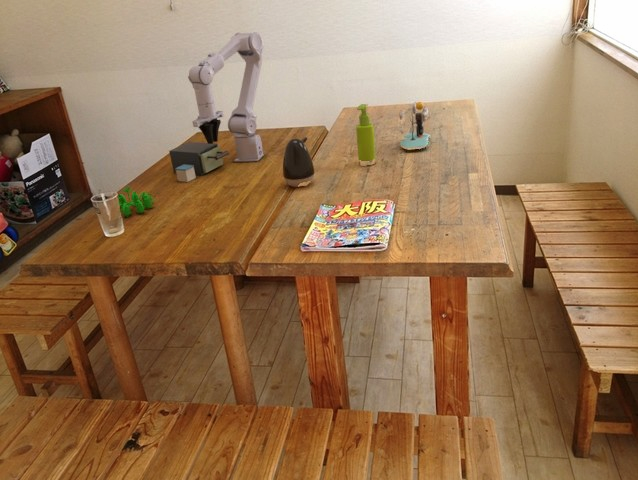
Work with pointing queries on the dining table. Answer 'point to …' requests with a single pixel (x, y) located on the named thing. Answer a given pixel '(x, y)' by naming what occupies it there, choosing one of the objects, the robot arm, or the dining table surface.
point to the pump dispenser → (297, 163)
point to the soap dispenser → (365, 136)
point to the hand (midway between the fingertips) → (212, 142)
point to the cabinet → (190, 155)
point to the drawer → (212, 159)
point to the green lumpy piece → (135, 202)
